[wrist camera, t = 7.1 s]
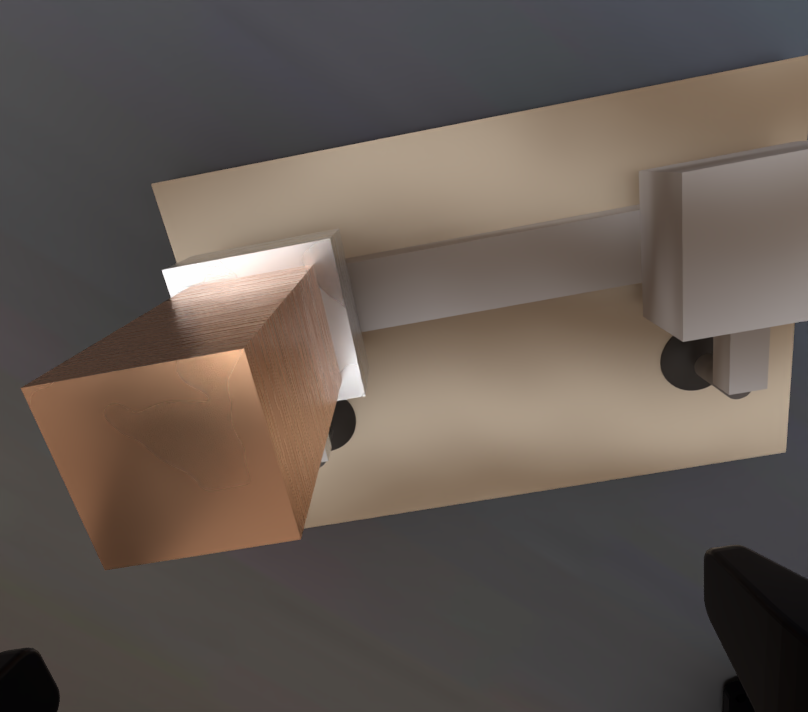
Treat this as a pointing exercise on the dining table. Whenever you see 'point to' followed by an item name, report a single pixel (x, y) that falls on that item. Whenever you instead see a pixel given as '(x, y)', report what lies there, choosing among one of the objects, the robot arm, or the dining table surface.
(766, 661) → the robot arm
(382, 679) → the dining table surface
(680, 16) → the dining table surface
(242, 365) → the sliding leg
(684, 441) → the wooden base plate
